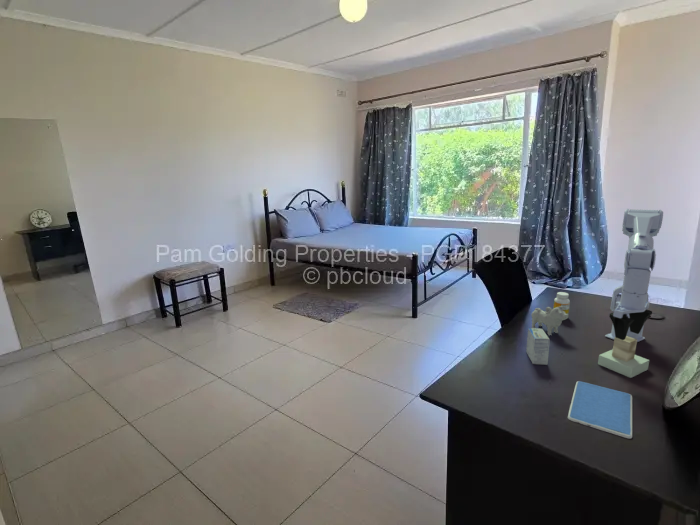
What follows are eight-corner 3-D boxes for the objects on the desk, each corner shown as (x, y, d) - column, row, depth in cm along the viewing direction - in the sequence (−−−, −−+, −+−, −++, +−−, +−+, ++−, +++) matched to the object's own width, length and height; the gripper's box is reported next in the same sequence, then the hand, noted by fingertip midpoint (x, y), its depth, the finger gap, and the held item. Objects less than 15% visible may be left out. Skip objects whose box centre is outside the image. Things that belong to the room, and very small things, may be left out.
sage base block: (614, 356, 118) (616, 347, 117) (647, 369, 110) (649, 360, 109) (597, 364, 114) (599, 355, 113) (630, 377, 106) (632, 368, 105)
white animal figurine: (560, 340, 130) (563, 311, 127) (527, 327, 141) (530, 300, 138) (569, 336, 132) (573, 308, 129) (537, 324, 143) (539, 297, 141)
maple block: (619, 352, 114) (622, 334, 112) (634, 358, 110) (637, 339, 109) (611, 356, 112) (614, 337, 111) (626, 361, 109) (629, 342, 107)
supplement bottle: (550, 314, 152) (552, 291, 150) (564, 314, 151) (567, 291, 149) (555, 319, 147) (558, 295, 144) (570, 319, 146) (573, 295, 144)
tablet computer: (631, 442, 83) (632, 436, 82) (566, 421, 90) (567, 416, 90) (631, 398, 98) (632, 393, 97) (575, 383, 105) (576, 379, 105)
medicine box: (547, 365, 114) (550, 339, 112) (531, 364, 115) (534, 338, 113) (540, 353, 121) (543, 328, 119) (525, 352, 122) (527, 327, 120)
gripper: (632, 283, 113) (626, 325, 116) (604, 291, 106) (598, 336, 110) (660, 289, 107) (652, 333, 110) (632, 298, 100) (624, 345, 103)
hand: (627, 335), depth 109 cm, fingers open, 7 cm apart
